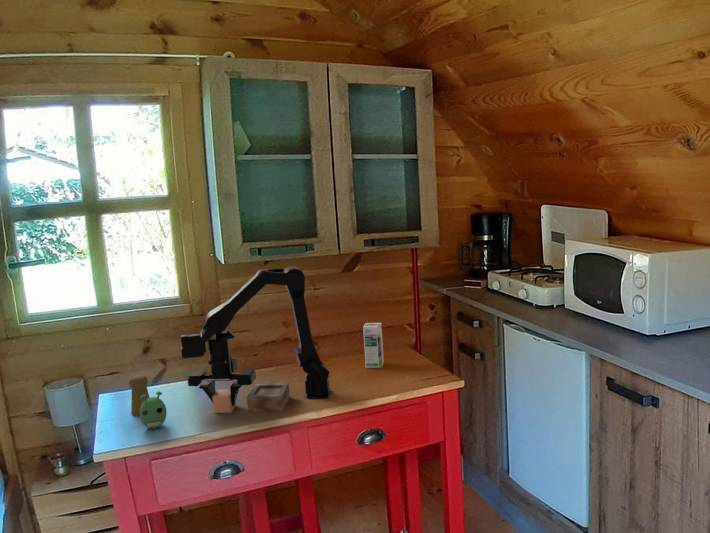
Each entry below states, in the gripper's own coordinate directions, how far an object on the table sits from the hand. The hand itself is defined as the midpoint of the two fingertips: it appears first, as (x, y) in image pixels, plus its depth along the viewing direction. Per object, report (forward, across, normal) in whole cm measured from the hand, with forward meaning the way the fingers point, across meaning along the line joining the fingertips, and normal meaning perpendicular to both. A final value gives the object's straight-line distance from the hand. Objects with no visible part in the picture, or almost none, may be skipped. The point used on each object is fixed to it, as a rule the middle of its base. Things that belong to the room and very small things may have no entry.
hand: (224, 405), depth 174 cm
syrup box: (+1, -41, -35) cm, 54 cm away
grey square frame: (+1, -12, -3) cm, 13 cm away
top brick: (+1, 0, 0) cm, 1 cm away
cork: (+1, +25, +1) cm, 25 cm away
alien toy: (+1, +16, +12) cm, 20 cm away
